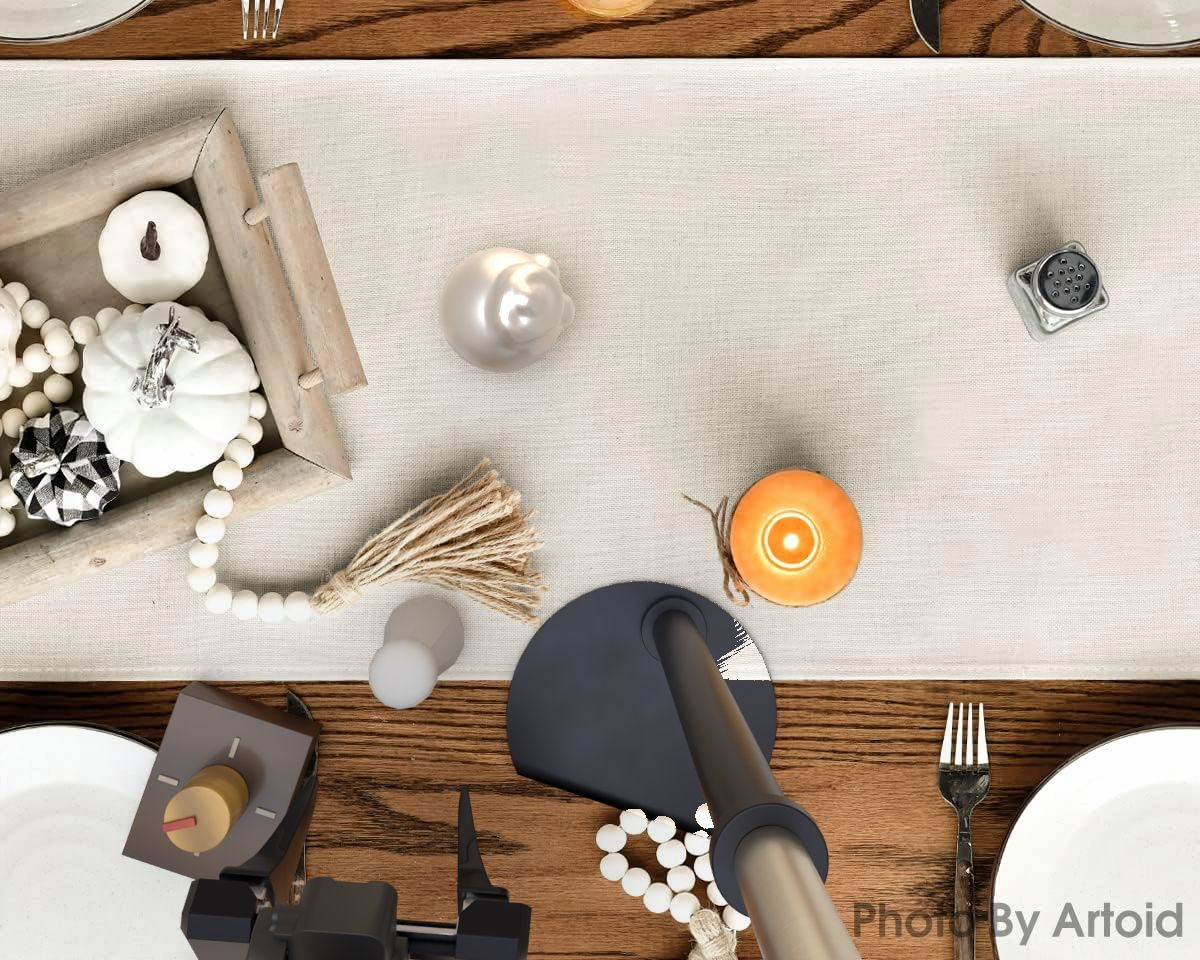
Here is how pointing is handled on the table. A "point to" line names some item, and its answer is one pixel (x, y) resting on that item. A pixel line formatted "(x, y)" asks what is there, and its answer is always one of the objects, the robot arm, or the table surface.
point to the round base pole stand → (676, 748)
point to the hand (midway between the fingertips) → (390, 783)
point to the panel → (236, 740)
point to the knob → (206, 809)
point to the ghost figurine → (504, 308)
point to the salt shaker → (415, 651)
